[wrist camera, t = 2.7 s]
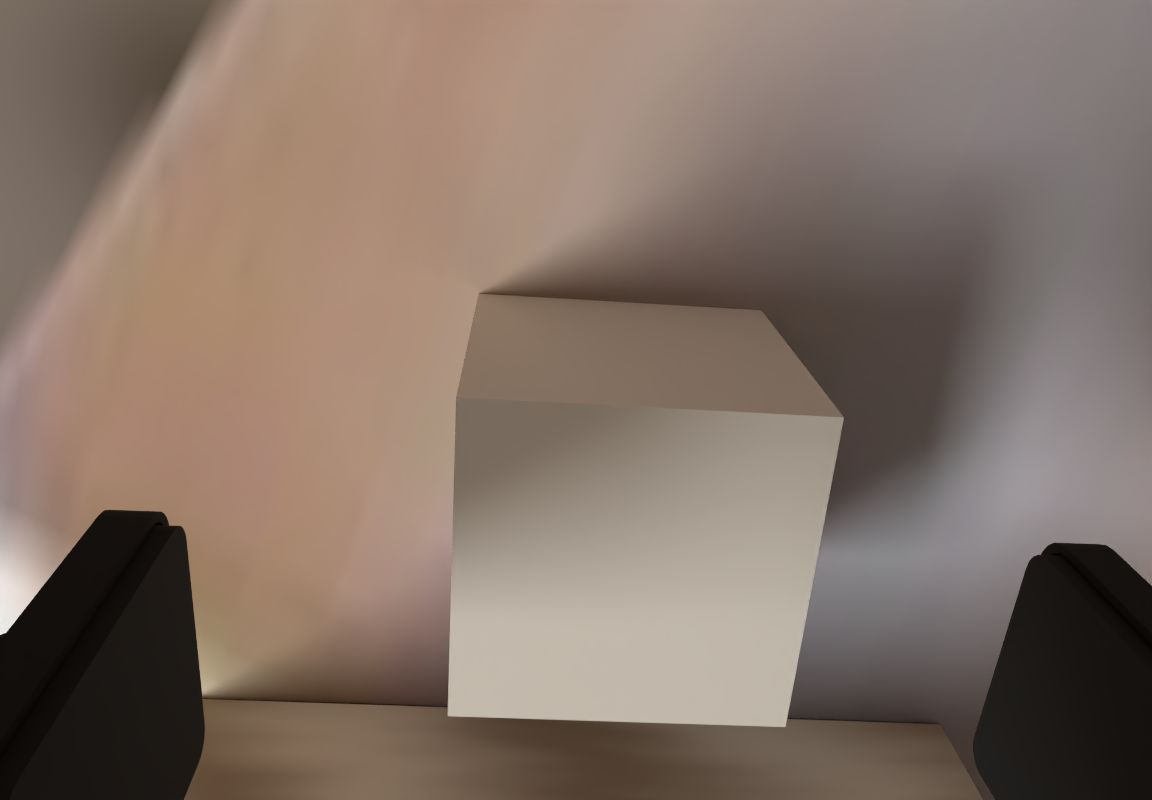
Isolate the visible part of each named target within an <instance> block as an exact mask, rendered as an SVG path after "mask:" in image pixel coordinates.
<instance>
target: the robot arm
mask: <svg viewBox="0 0 1152 800" xmlns="http://www.w3.org/2000/svg"><path fill="white" fill-rule="evenodd" d="M204 737H205V720H204V710H203V700H202V690H201V680H200V670H199V660H198V650H197V640H196V630H195V620H194V610H193V600H192V590H191V581H190V571H189V561H188V551H187V541H186V535H185V532H184V529H183V528H182V527H181V526H169V523H168V520H167V518H166V515H165V514H164V513H162V512H154V511H125V510H105V511H103V512H102V513H101V514H100V515H99V516H98V517H97V518H96V519H95V521H94V522H93V523H92V525H91V526H90V527H89V528H88V530H87V531H86V532H85V533H84V535H83V536H82V537H81V539H80V540H79V541H78V542H77V544H76V545H75V546H74V547H73V549H72V550H71V551H70V553H69V554H68V555H67V556H66V558H65V559H64V560H63V561H62V563H61V564H60V565H59V567H58V568H57V569H56V570H55V572H54V573H53V574H52V575H51V577H50V578H49V579H48V581H47V582H46V583H45V584H44V586H43V587H42V588H41V589H40V591H39V592H38V593H37V595H36V596H35V597H34V598H33V600H32V601H31V602H30V603H29V605H28V606H27V607H26V609H25V610H24V611H23V612H22V614H21V615H20V616H19V617H18V619H17V620H16V621H15V623H14V624H13V625H12V626H11V628H10V629H9V630H8V631H7V633H5V634H2V635H0V800H184V798H185V796H186V793H187V791H188V788H189V786H190V783H191V781H192V778H193V776H194V773H195V771H196V769H197V766H198V764H199V761H200V758H201V754H202V750H203V745H204ZM973 752H974V759H975V762H976V766H977V768H978V771H979V773H980V775H981V776H982V778H983V780H984V781H985V783H986V785H987V787H988V788H989V790H990V792H991V793H992V795H993V797H994V798H995V800H1152V586H1151V585H1150V584H1149V583H1148V582H1147V581H1146V580H1145V579H1144V578H1142V577H1141V576H1140V575H1139V574H1138V573H1137V572H1136V571H1135V570H1134V569H1133V568H1132V567H1131V566H1130V565H1129V564H1128V563H1127V562H1126V561H1124V560H1123V559H1122V558H1121V557H1120V556H1119V555H1118V554H1117V553H1116V552H1115V551H1114V550H1112V549H1111V548H1109V547H1108V546H1106V545H1100V544H1073V543H1053V544H1051V545H1048V546H1047V547H1046V548H1045V549H1044V551H1043V552H1042V554H1041V555H1037V556H1034V557H1033V558H1032V559H1031V560H1030V561H1029V563H1028V565H1027V568H1026V571H1025V574H1024V577H1023V581H1022V584H1021V587H1020V590H1019V594H1018V597H1017V600H1016V603H1015V607H1014V610H1013V613H1012V616H1011V620H1010V623H1009V626H1008V629H1007V632H1006V636H1005V639H1004V642H1003V645H1002V649H1001V652H1000V655H999V658H998V662H997V665H996V668H995V671H994V675H993V678H992V681H991V684H990V688H989V691H988V694H987V697H986V701H985V704H984V707H983V710H982V714H981V717H980V720H979V723H978V726H977V730H976V733H975V737H974V742H973Z"/></svg>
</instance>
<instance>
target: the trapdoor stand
mask: <svg viewBox="0 0 1152 800" xmlns="http://www.w3.org/2000/svg"><path fill="white" fill-rule="evenodd" d="M202 700H203V710H204V720H205V737H204V745H203V750H202V754H201V758H200V761H199V764H198V766H197V769H196V771H195V773H194V776H193V778H192V781H191V783H190V786H189V788H188V791H187V793H186V796H185V798H184V800H983V798H982V796H981V795H980V793H979V791H978V789H977V788H976V786H975V784H974V782H973V781H972V779H971V777H970V775H969V774H968V772H967V770H966V768H965V767H964V765H963V763H962V761H961V760H960V758H959V756H958V754H957V753H956V751H955V749H954V747H953V746H952V744H951V742H950V740H949V739H948V737H947V735H946V733H945V732H944V730H943V728H942V726H941V725H940V724H918V723H889V722H860V721H831V720H801V719H787V722H786V727H767V726H736V725H705V724H674V723H643V722H612V721H581V720H550V719H519V718H488V717H457V716H448V707H421V706H392V705H362V704H333V703H304V702H274V701H245V700H216V699H202Z"/></svg>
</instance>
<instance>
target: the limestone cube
mask: <svg viewBox="0 0 1152 800" xmlns="http://www.w3.org/2000/svg"><path fill="white" fill-rule="evenodd" d="M843 421H844V417H843V415H842V414H841V413H840V412H839V410H838V409H837V408H836V406H835V405H834V404H833V402H832V401H831V400H830V399H829V397H828V396H827V395H826V393H825V392H824V391H823V389H822V388H821V387H820V386H819V384H818V383H817V382H816V380H815V379H814V378H813V377H812V375H811V374H810V373H809V371H808V370H807V369H806V367H805V366H804V365H803V364H802V362H801V361H800V360H799V358H798V357H797V356H796V354H795V353H794V352H793V351H792V349H791V348H790V347H789V345H788V344H787V343H786V342H785V340H784V339H783V338H782V336H781V335H780V334H779V332H778V331H777V330H776V329H775V327H774V326H773V325H772V323H771V322H770V321H769V319H768V318H767V317H766V316H765V314H764V313H763V312H762V310H748V309H731V308H714V307H697V306H680V305H664V304H647V303H630V302H613V301H596V300H579V299H562V298H545V297H528V296H511V295H494V294H479V295H478V299H477V304H476V309H475V313H474V318H473V322H472V327H471V332H470V336H469V341H468V345H467V350H466V355H465V359H464V364H463V368H462V373H461V378H460V382H459V387H458V391H457V396H456V426H455V462H454V499H453V536H452V573H451V610H450V647H449V684H448V716H457V717H488V718H519V719H550V720H581V721H612V722H643V723H674V724H705V725H736V726H767V727H786V722H787V716H788V711H789V706H790V701H791V695H792V690H793V685H794V679H795V674H796V669H797V664H798V658H799V653H800V648H801V642H802V637H803V632H804V627H805V621H806V616H807V611H808V606H809V600H810V595H811V590H812V584H813V579H814V574H815V569H816V563H817V558H818V553H819V547H820V542H821V537H822V532H823V526H824V521H825V516H826V510H827V505H828V500H829V495H830V489H831V484H832V479H833V473H834V468H835V463H836V458H837V452H838V447H839V442H840V436H841V431H842V426H843Z"/></svg>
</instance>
